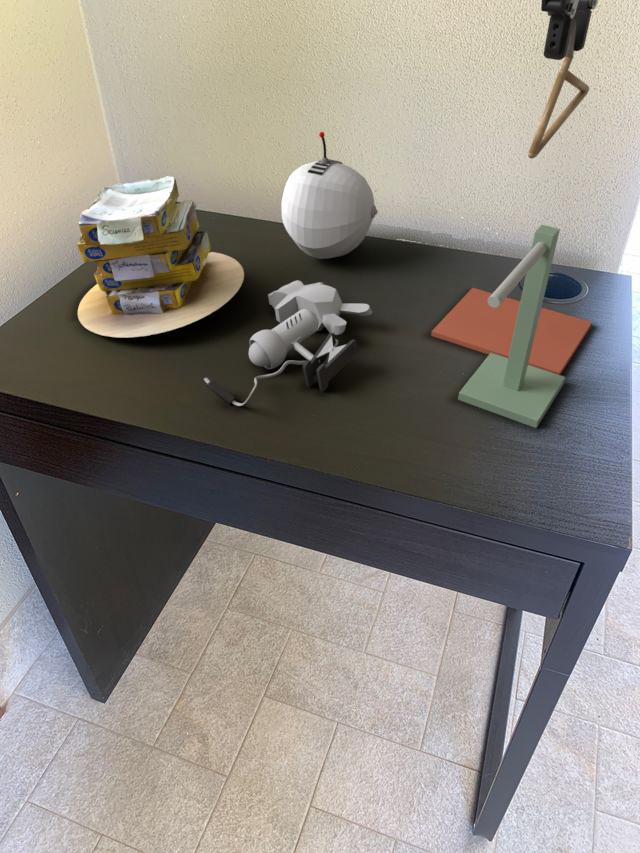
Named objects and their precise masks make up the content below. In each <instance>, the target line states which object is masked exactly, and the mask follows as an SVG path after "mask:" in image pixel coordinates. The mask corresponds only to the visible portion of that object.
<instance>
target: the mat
mask: <svg viewBox="0 0 640 853" xmlns="http://www.w3.org/2000/svg"><path fill="white" fill-rule="evenodd" d="M493 293H494V292H489V291H485V290H482V289H478V288H475V287H472V288H471V289H470V290H469V291H467V293H466V294H465V295H464V296H463V297H462V298H461V299H460V300H459V301H458V303H456V305H455V306H454V307H453V308H452V309H451V310H450V311H449V312H448V313H447V314H446V315H445V316H444V318H443V319H442V320H440V322H439V323H438V324H437V325H436V326H435V327H434V328H433V329H432V330H431V337H433V338H437V339H440V340H443V341H446V342H449V343H451V344H455V345H457V346H461V347H464V348H467V349H470V350H473V351H476V352H479V353H481V354H482V353H483V354H485V355H487V356H488V355H489V354H490V353H493V354H496V355H499V356H503V357H506V358H509V353H510V348H511V343H512V339H513V334H514V329H515V324H516V320H517V315H518V310H519V306H520V301H521V300H517V299H513V298H510V297H508V296H507V297H506V298H505V299H504V301H503V302H502V303H501V304H500V305H499V306H498V307H497V308H492V307H490V306H489V304H488V298H489V297H490V296H491V295H492V294H493ZM592 324H593V321H590V320H586V319H582V318H579V317H576V316H572V315H568V314H566V313H561V312H558V311H555V310H552V309H548V308H545V307H541V312H540V316H539V320H538V324H537V328H536V333H535V337H534V341H533V345H532V350H531V354H530V358H529V362H528V365H530V366H533V367H536V368H539V369H542V370H545V371H548V372H551V373H554V374H557V375H561V376H562V373H563V371H564V370H565V368H566V366H567V365H568V364H569V362H570V361H571V359H572V357H573V356H574V355H575V353H576V351H577V350H578V348H579V346H580V345H581V343H582V341H583V340H584V338H585V337H586V336H587V334H588V333H589V331H590V329H591V328H592Z"/></svg>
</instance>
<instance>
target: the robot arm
mask: <svg viewBox="0 0 640 853" xmlns="http://www.w3.org/2000/svg"><path fill="white" fill-rule="evenodd" d="M598 3H599V0H541V4H540V5H541V6H540V11H542V12H546V13H547V17H549V20H548V21H549V22H548V27H547V32H546V38H545V42H544V43H545V44H544V49H543V56H544V58H546V59H548V60H549V59H550V60H556V61H561V60H564V59H565V57H566V54H567V50H568V45H569V40H570V35H571V30H572V25H573V20H575V21H576V33H575V44H574V52H580V51H582V50H583V49H584V48H585V45H586V39H587V36H588V31H589V27H590V22H591V17H592V12H593V11H592V10H595V9H596V8H597V5H598Z"/></svg>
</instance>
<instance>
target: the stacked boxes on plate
mask: <svg viewBox="0 0 640 853" xmlns="http://www.w3.org/2000/svg"><path fill="white" fill-rule="evenodd" d="M178 188H179V187H178V185H177V178H175V176H171V175H170V176H169V175H167V176H165V177H161V178H153V177H150V178H149V179H142V180H141V179H139V180H134V181H127V179H126V178H125V179H124V182H122V183H121V181H119V182H118V183H116V184H113V185H107V186H103V188H102V190H100V191H99V193H98V194H97V195H96V198H95V199H93V201H92V202H91V203H90V205H89V206H88V208H85V209H84V210H82V211H81V212H80V213H81V214H80V215H79V222H78V227H79V230H80V236H79V238H78V241H77V243H76V247H77V249H78V252H79V254H80V257H81V259H82V261H83V263H95V264H96V265H97V270H96V271H95V272H94V273H93V277H94V279H95V282H96V284H95V285H94V286H93V287H92V288H90V289H89V290H88V291H87V293H86V294H85V295H84V296H83V297H82V299H81V300H80V302H79V305H78V309H77V318H78V321H79V323H80V324H81V325H82V326H83V327H84V328H85V329H87V330H88V331H89V332H92V333H94V334H97V335H100V336H104V337H111V338H121V339H122V338H127V339H128V338H139V337H147V336H151V335H158V334H161V333H167V332H170V331H173V330H176V329H179V328H183V327H185V326H187V325H190V324H192V323H195V322H197V321H199V320H201V319H204V318H205V317H207V316H210V315H211V314H212V313H214V312H216V311H218V310H219V309H220V308H221V307H223V306H224V305H225V304H227V303H228V302H230V300H232V298H233V297H234V296H235V295H236V294H237V293H238V292H239V290H240V288H241V287H242V284H243V282H244V279H245V272H244V267H243V266H242V265H241V263H240V262H239V261H237V259H235V258H233V257H231V256H230V255H227V254H223V253H220V252H215V251H212V250H211V243H210V239H209V234H208V228H205V229H204V230H203V231H202V230H201V231H198V230H199V228H200V225H199V221H198V217H197V212H196V207H197V203H195V202H194V201H193V200H192V199H190V200H188V199H186V200H182V201H178V198H179V197H180V194H179V189H178Z"/></svg>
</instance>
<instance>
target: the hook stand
mask: <svg viewBox="0 0 640 853" xmlns="http://www.w3.org/2000/svg"><path fill="white" fill-rule="evenodd" d="M560 232H561V229H560V228H558V227H553V226H549V225H545V224H541V225H540V226H539V227H538V228H537V229H536V230H535V231H534V235H533V239H532V244H531V248H530V249H531V250H530V251H529V252H528V253H527V254H526V255H525V256H524V258H523V259H522V260H521V261H520V262H519V263H518V264H517V265H516V266H515V267H514V268H513V270H512V271H511V272H510V273H509V274H508V275H507V277H506V278H505V279H504V280H503V281H502V282H501V283H500V285H498V287H497V288H496V289H495V291H493V292H492V293H493V294H492V295H491V296H490V297H489V298H488V304H489V306H490V307H492V308H497V307H498V306H499V305H500V304H501V303H502V302H503V301H504V299H505V298H506V297H507V298H508V296H509V295H510V294H511V293H512V291H514V289H515V288H516V287H517V285H518V284H519V283H520V282H521V281H522V280H523V278H524V283H523V288H522V292H521V296H520V297H521V298H520V300H519V301H520V306H519V310H518V315H517V320H516V324H515V329H514V334H513V339H512V343H511V348H510V353H509V358H506V357H503V356H499V355H496V354H493V353H490V354H489V355H488V354H487V357H486V358H485V359H484V360H483V362H482V363H481V364H480V366H478V368H477V369H476V370H475V372H474V373H473V375H471V377H470V378H469V379H468V380H467V382H466V383H465V385H464V386H463V387H462V388H461V389H460V391H459V392H458V397H457V400H458V401H460V402H462V403H465V404H469V405H471V406H474V407H475V408H476V407H477V408H479V409H482V410H484V411H488V412H490V413H493V414H496V415H499V416H502V417H504V418H507V419H510V420H512V421H515V422H518V423H519V424H523V425H526V426H528V427H532V428H534V429H537V428H538V427H539V425H540V423H541V422H542V420H543V418H544V417H545V415H546V413H547V412H548V410H550V407H551V406H552V404H553V403H554V401H555V399H556V397H557V396H558V395H559V393H560V391H561V390H562V388H563V387H564V385H565V380H566V376H564V375H562V374H561V375H557V374H554V373H551V372H548V371H545V370H542V369H539V368H536V367H533V366H530V365H528V362H529V358H530V354H531V350H532V345H533V341H534V337H535V333H536V328H537V324H538V320H539V316H540V312H541V308H543V307H542V306H543V302H544V298H545V294H546V290H547V286H548V281H549V277H550V273H551V269H552V264H553V261H554V255H555V252H556V248H557V245H558V244H557V243H558V239H559V236H560Z"/></svg>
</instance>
